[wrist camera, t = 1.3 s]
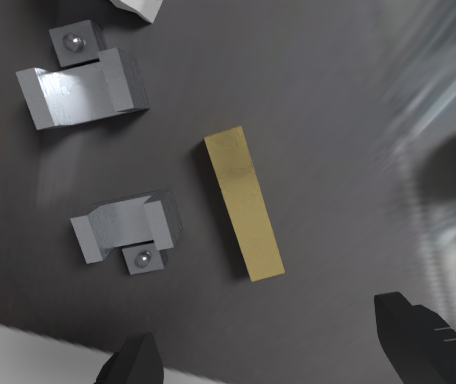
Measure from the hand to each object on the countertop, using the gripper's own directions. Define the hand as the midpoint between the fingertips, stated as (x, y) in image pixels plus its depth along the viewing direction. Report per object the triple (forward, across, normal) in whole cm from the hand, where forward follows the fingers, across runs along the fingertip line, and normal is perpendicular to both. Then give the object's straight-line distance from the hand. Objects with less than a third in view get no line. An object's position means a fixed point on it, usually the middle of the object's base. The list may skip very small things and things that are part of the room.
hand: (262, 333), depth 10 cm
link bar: (+17, 0, 0) cm, 17 cm away
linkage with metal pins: (+17, +10, -6) cm, 20 cm away
